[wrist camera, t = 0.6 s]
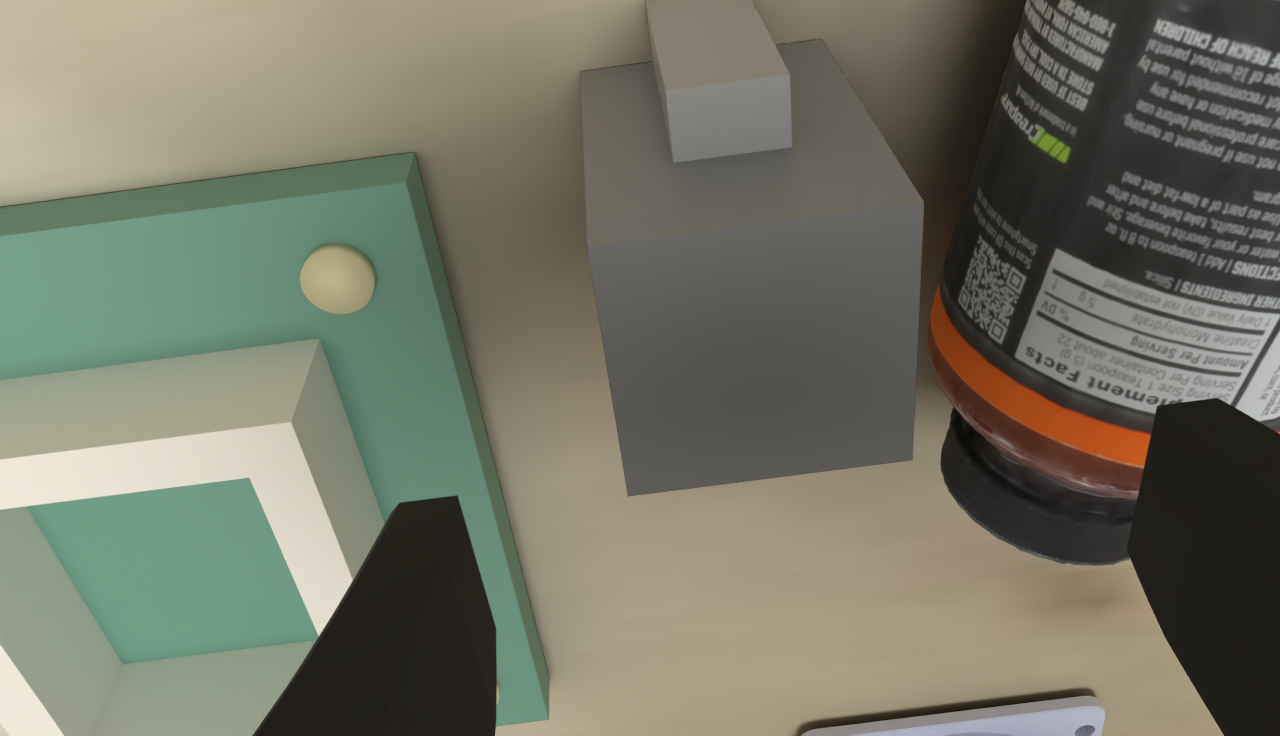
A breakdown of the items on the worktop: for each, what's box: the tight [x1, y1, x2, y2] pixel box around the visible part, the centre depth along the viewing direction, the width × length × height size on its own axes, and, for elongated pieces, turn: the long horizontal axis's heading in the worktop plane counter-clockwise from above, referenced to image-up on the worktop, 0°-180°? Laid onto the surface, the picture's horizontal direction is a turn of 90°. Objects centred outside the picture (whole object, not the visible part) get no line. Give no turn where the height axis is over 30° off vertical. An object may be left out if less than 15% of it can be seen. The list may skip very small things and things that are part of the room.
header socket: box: [0, 338, 385, 736], centre depth 20 cm, size 9×8×2 cm
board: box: [0, 152, 549, 726], centre depth 21 cm, size 14×12×2 cm
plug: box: [580, 0, 924, 496], centre depth 16 cm, size 5×4×6 cm
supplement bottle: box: [928, 0, 1280, 566], centre depth 16 cm, size 6×6×11 cm
